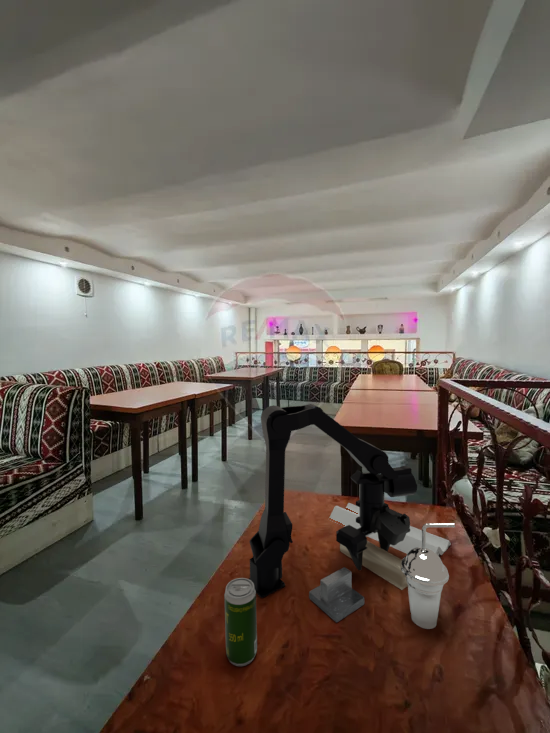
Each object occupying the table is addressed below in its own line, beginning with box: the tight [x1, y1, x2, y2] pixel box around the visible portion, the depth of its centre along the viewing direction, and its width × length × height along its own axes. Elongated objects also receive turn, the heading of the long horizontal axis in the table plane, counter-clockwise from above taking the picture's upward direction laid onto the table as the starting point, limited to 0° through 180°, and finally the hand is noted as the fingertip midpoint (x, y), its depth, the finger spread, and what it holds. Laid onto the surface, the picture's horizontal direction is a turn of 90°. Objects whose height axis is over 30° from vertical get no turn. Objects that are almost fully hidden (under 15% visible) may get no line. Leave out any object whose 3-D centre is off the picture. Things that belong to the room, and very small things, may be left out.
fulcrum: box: [308, 566, 365, 624], centre depth 72 cm, size 8×8×6 cm
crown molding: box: [329, 502, 452, 557], centre depth 98 cm, size 31×12×4 cm, turn 43°
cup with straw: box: [401, 522, 456, 630], centre depth 66 cm, size 8×9×20 cm
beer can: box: [223, 577, 258, 667], centre depth 60 cm, size 5×5×12 cm
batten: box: [339, 540, 408, 591], centre depth 83 cm, size 3×18×5 cm, turn 36°
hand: (371, 562), depth 83 cm, fingers open, 9 cm apart
